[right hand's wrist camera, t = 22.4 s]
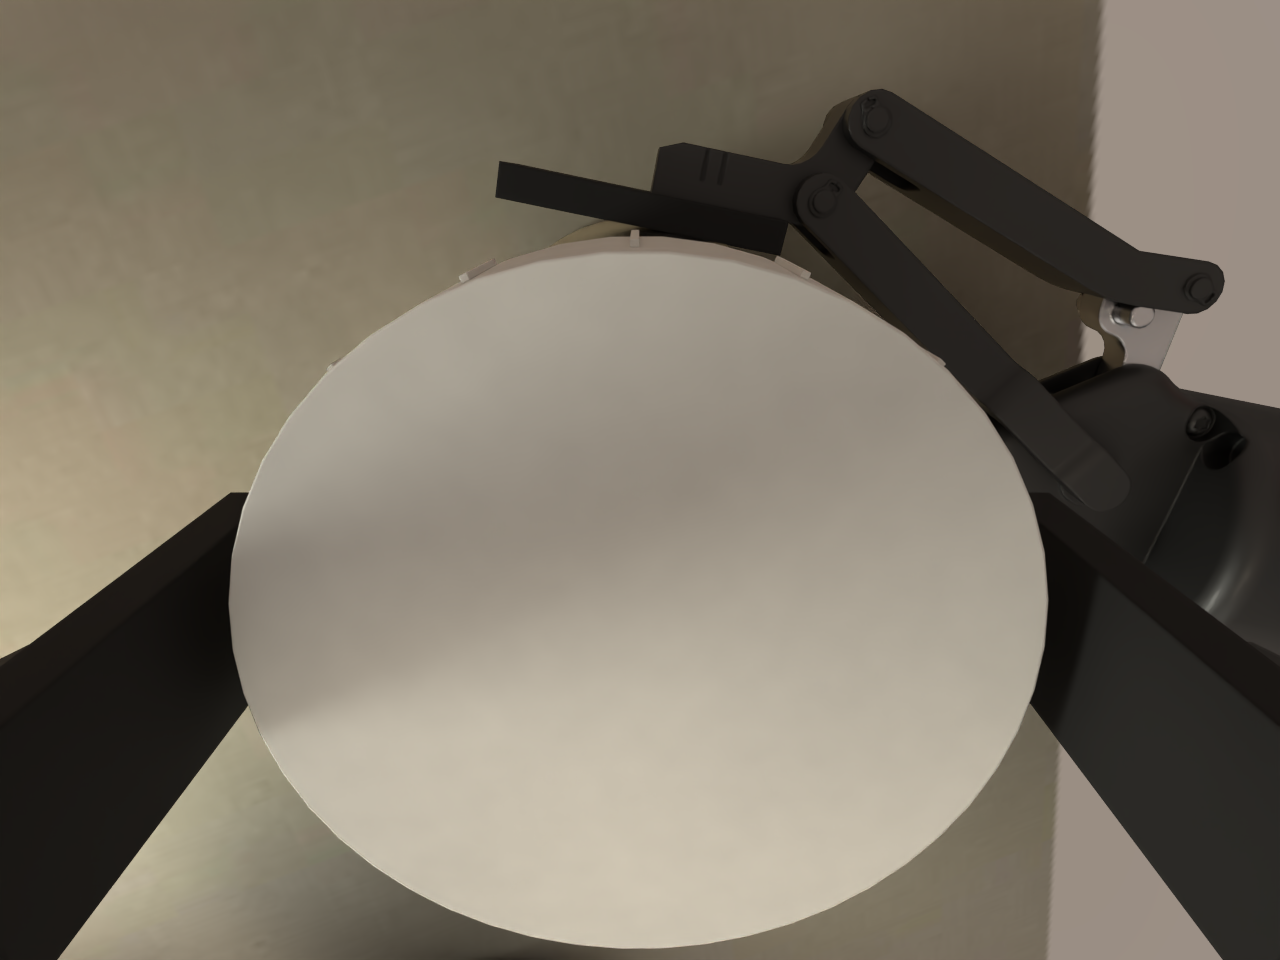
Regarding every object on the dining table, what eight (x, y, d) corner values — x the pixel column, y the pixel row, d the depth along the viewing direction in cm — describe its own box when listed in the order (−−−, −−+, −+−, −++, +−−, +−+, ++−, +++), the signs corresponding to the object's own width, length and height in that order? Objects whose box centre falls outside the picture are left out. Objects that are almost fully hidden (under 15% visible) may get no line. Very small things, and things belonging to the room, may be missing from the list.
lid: (224, 705, 13) (139, 813, 11) (440, 78, 10) (378, 45, 7) (761, 899, 15) (783, 1026, 13) (1116, 433, 11) (1235, 495, 9)
